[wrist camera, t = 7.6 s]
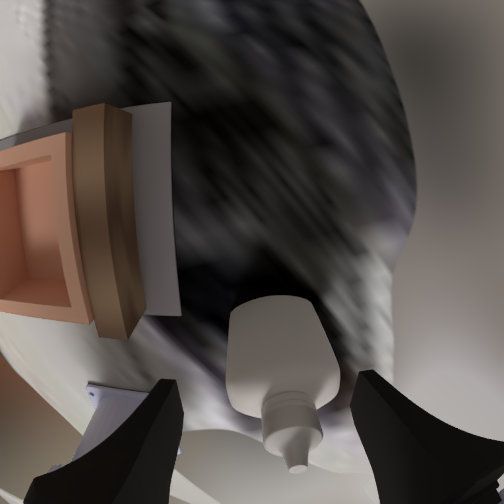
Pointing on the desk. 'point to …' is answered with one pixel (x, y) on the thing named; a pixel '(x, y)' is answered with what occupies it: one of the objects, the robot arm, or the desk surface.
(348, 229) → the desk surface
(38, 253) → the socket block
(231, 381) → the eye dropper bottle
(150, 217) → the mat
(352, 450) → the desk surface
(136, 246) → the end wall
